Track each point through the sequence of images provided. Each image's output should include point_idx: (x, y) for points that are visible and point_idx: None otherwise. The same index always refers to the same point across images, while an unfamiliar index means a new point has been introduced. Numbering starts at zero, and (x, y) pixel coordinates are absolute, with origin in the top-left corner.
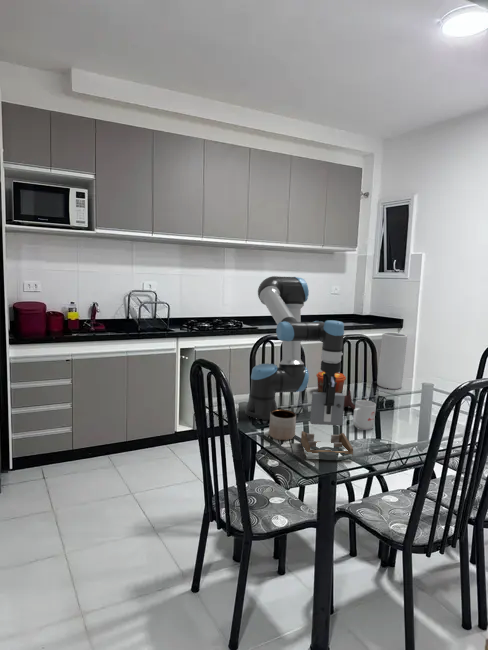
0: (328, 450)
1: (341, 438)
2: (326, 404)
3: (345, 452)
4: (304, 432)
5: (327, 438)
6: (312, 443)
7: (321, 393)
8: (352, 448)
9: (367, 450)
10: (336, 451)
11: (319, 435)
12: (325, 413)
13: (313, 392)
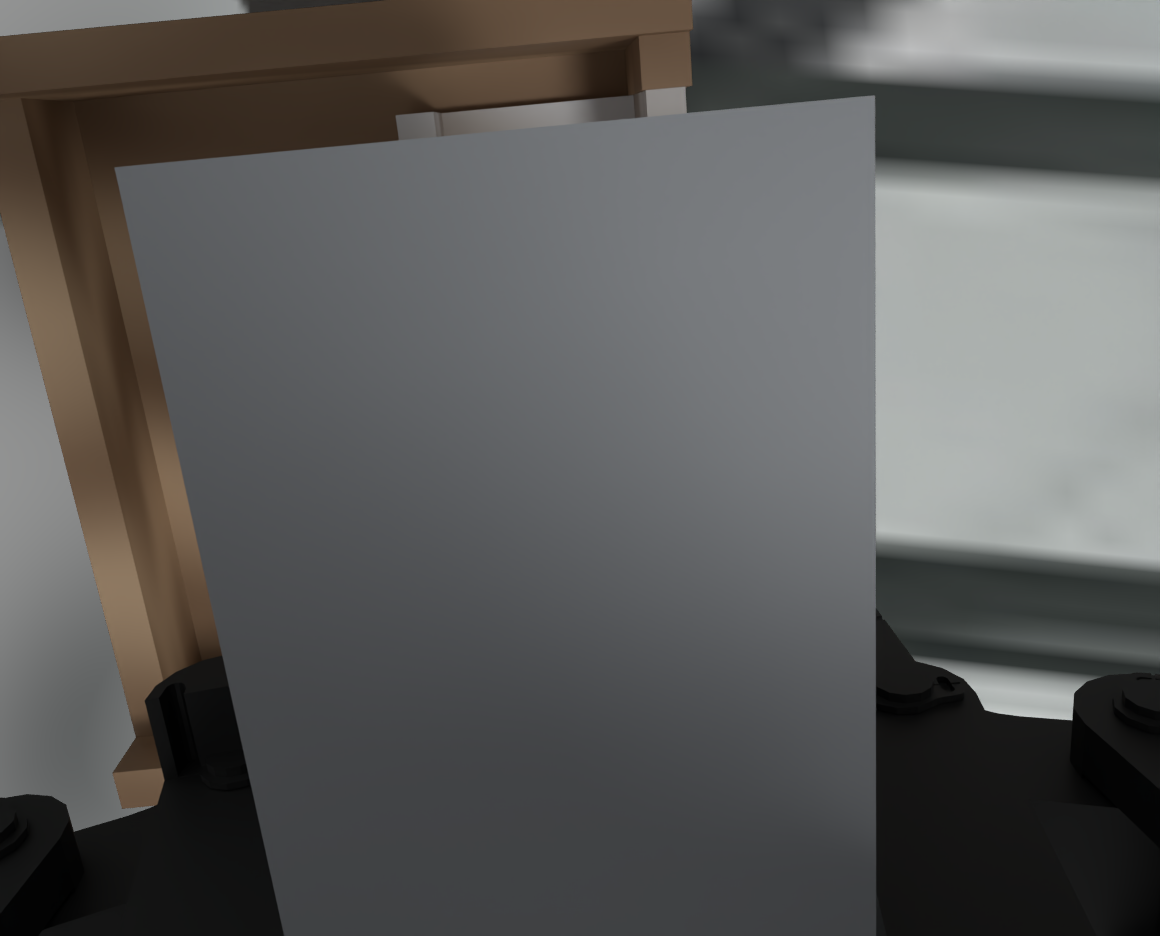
0: (98, 431)
1: None
2: (169, 783)
3: (121, 674)
4: (632, 31)
5: (905, 464)
6: None
7: (595, 835)
8: (131, 800)
9: None
10: (101, 550)
11: (1011, 352)
12: None
13: (730, 197)
